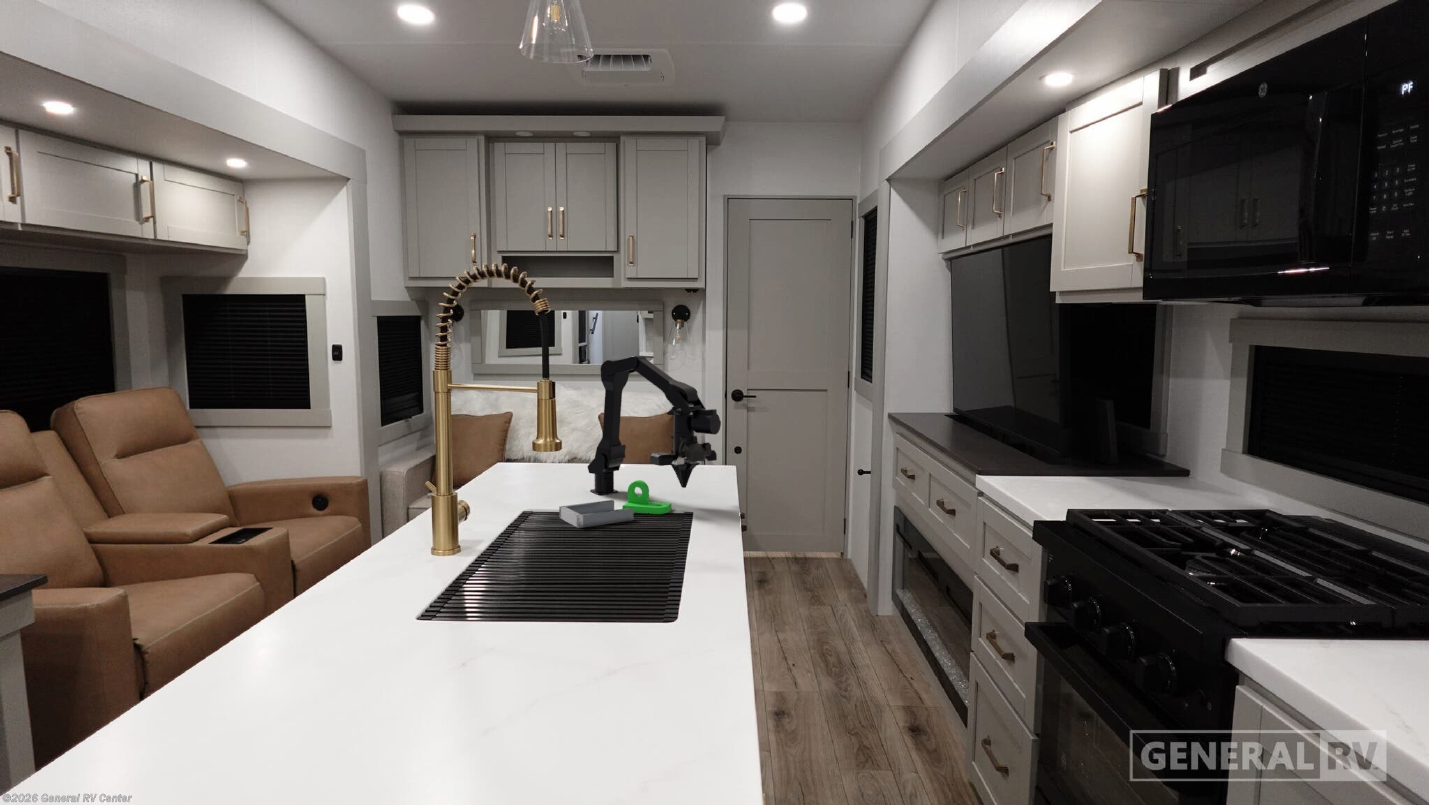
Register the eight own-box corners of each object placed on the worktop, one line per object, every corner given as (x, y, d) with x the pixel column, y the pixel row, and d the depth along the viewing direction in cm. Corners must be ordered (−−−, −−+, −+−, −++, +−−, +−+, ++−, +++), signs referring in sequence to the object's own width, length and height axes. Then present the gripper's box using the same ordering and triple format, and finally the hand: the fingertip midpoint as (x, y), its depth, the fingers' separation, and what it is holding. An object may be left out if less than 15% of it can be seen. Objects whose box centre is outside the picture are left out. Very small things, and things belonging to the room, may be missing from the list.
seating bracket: (559, 517, 194) (559, 506, 194) (612, 510, 203) (612, 500, 203) (578, 528, 184) (578, 516, 184) (633, 520, 193) (633, 508, 192)
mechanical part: (622, 512, 202) (622, 483, 201) (630, 508, 207) (630, 479, 207) (664, 515, 199) (664, 486, 198) (671, 510, 205) (671, 481, 204)
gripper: (669, 437, 195) (669, 496, 196) (728, 433, 205) (727, 489, 206) (649, 432, 204) (648, 489, 205) (706, 428, 214) (705, 482, 216)
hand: (683, 487), depth 208 cm, fingers closed
